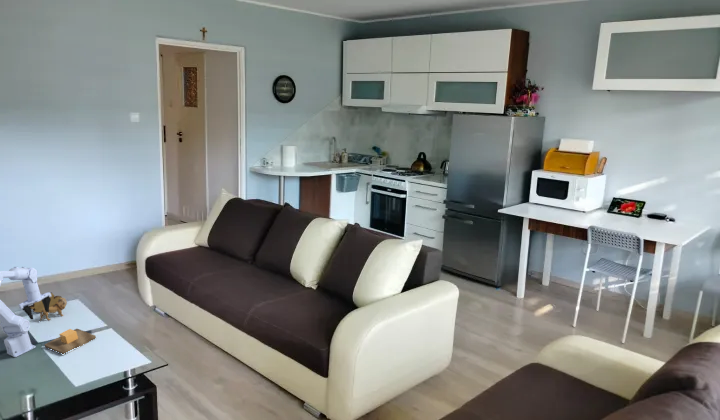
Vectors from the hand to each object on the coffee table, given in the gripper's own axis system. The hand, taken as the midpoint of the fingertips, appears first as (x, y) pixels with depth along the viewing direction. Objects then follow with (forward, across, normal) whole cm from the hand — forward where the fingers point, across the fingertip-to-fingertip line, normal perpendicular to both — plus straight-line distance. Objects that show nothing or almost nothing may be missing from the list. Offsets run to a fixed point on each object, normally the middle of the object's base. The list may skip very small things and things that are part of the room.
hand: (39, 315), depth 256 cm
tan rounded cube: (+8, 0, -24) cm, 25 cm away
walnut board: (+9, 0, -24) cm, 26 cm away
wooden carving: (+10, +14, +24) cm, 29 cm away
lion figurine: (+10, +12, +11) cm, 19 cm away
